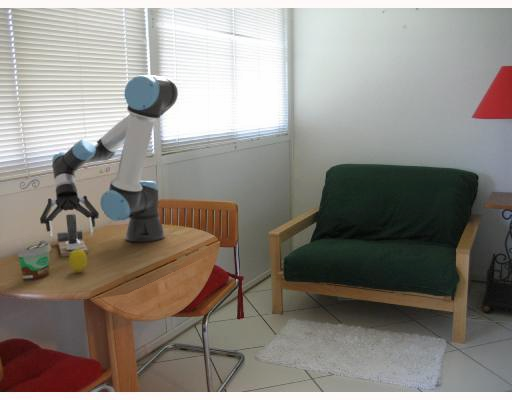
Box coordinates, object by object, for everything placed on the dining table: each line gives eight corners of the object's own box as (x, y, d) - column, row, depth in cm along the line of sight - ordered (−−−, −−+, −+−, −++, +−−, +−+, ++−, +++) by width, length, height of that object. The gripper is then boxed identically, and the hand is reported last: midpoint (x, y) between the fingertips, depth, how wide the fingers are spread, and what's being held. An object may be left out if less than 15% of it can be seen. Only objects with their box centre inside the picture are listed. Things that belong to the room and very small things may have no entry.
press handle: (81, 248, 195) (78, 215, 193) (66, 250, 193) (64, 217, 191) (80, 245, 199) (77, 213, 197) (65, 246, 198) (63, 214, 195)
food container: (38, 283, 164) (35, 251, 162) (20, 282, 165) (17, 250, 163) (60, 270, 176) (58, 240, 174) (43, 269, 177) (41, 240, 175)
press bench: (88, 253, 195) (87, 241, 194) (61, 256, 192) (60, 244, 191) (82, 241, 213) (81, 230, 212) (58, 244, 210) (57, 232, 209)
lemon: (70, 276, 170) (68, 251, 168) (69, 271, 175) (67, 247, 173) (89, 273, 172) (87, 249, 170) (87, 269, 177) (85, 245, 175)
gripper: (99, 191, 212) (107, 237, 201) (30, 197, 203) (35, 245, 192) (100, 180, 206) (108, 226, 195) (29, 185, 197) (34, 234, 186)
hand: (72, 236), depth 193 cm, fingers open, 13 cm apart
